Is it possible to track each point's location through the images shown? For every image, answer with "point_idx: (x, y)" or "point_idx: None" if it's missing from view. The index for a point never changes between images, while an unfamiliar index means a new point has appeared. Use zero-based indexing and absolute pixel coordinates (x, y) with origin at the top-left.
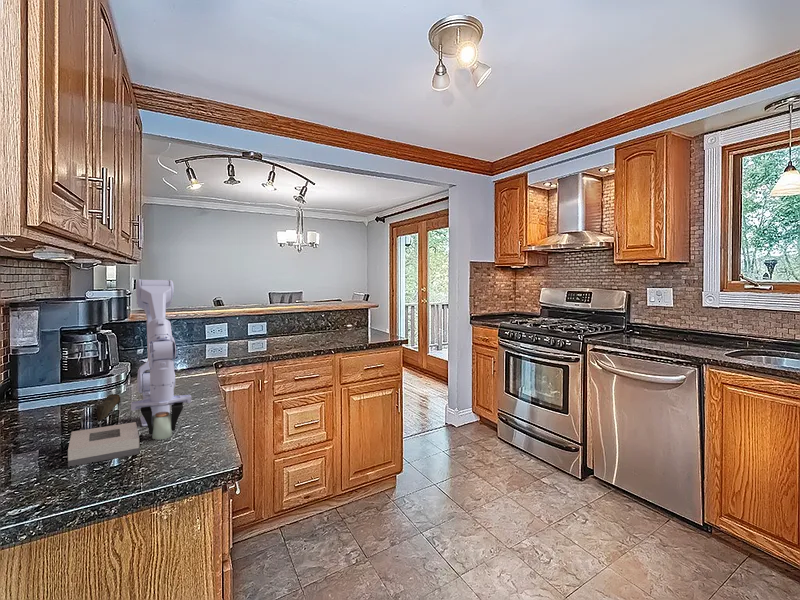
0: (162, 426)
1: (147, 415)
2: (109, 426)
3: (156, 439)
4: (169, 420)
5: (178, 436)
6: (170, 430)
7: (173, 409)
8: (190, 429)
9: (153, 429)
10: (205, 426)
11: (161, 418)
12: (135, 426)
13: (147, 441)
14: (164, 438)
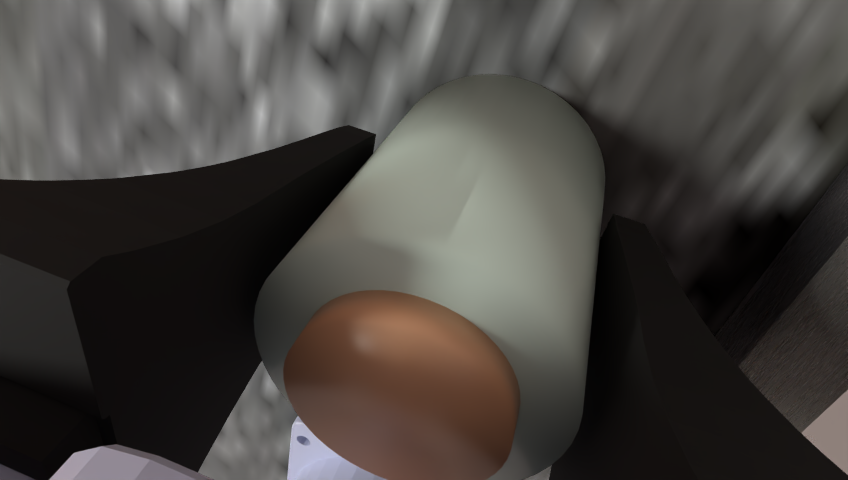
0: (495, 163)
1: (787, 470)
2: None
3: (588, 130)
4: (349, 198)
5: (348, 28)
6: (397, 127)
7: (147, 305)
8: (200, 148)
9: (598, 244)
10: (66, 113)
11: (475, 258)
12: (827, 431)
13: (696, 157)
14: (507, 76)
